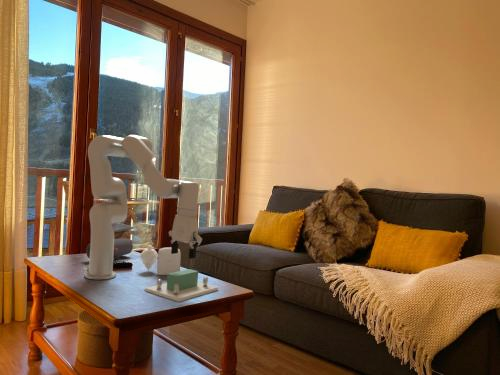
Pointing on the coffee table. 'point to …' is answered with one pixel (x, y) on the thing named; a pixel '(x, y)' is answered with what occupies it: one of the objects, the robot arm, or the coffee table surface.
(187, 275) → the board block
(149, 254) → the spinning top
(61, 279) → the coffee table surface
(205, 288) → the standoff plate
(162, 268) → the photo printer
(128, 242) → the bluetooth speaker
